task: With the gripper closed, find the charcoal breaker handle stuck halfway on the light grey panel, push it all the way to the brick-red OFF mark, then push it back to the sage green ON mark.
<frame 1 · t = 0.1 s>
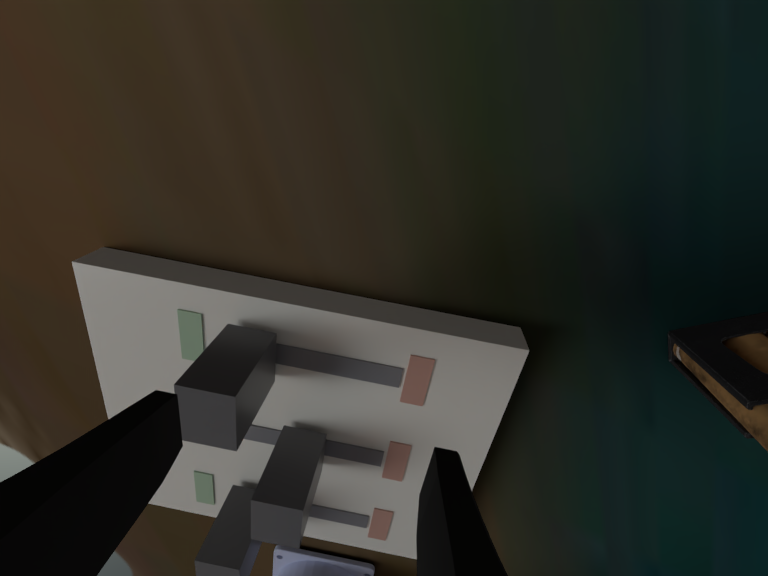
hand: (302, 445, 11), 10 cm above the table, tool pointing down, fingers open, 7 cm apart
breaker 2: (236, 538, 23), point 5 cm above the table, slide at 6.0 cm
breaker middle: (291, 483, 20), point 5 cm above the table, slide at 3.0 cm
breaker 1: (232, 382, 17), point 5 cm above the table, slide at 6.0 cm
breaker panel: (299, 413, 24), on the table
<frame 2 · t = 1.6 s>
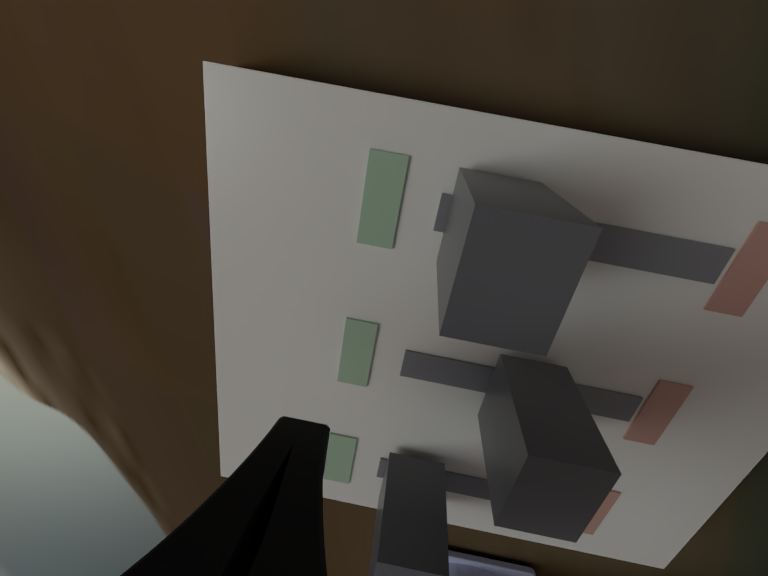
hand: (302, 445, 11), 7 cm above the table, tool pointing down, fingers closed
breaker 2: (407, 529, 15), point 5 cm above the table, slide at 6.0 cm
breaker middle: (534, 438, 12), point 5 cm above the table, slide at 3.0 cm
breaker 1: (497, 249, 10), point 5 cm above the table, slide at 6.0 cm
breaker panel: (485, 349, 17), on the table
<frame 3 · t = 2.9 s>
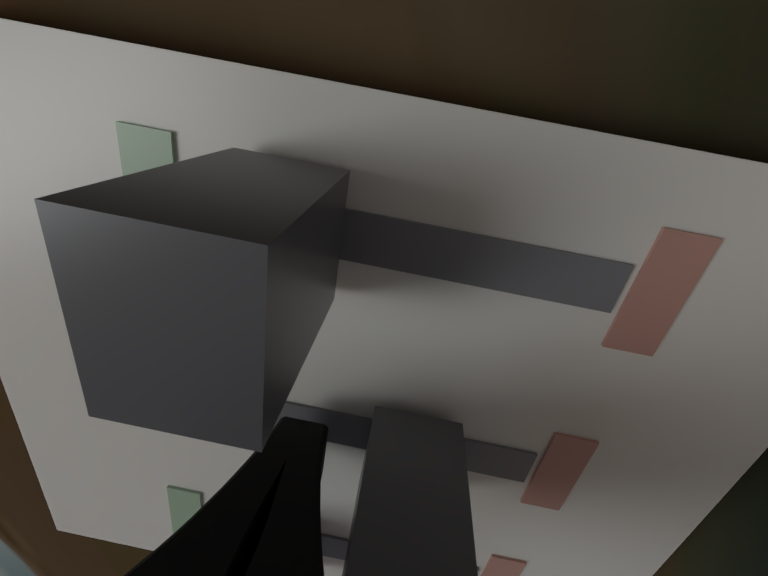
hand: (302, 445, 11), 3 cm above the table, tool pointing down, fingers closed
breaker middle: (403, 528, 9), point 5 cm above the table, slide at 2.1 cm, touching gripper
breaker 1: (244, 269, 6), point 5 cm above the table, slide at 6.0 cm
breaker panel: (358, 383, 13), on the table
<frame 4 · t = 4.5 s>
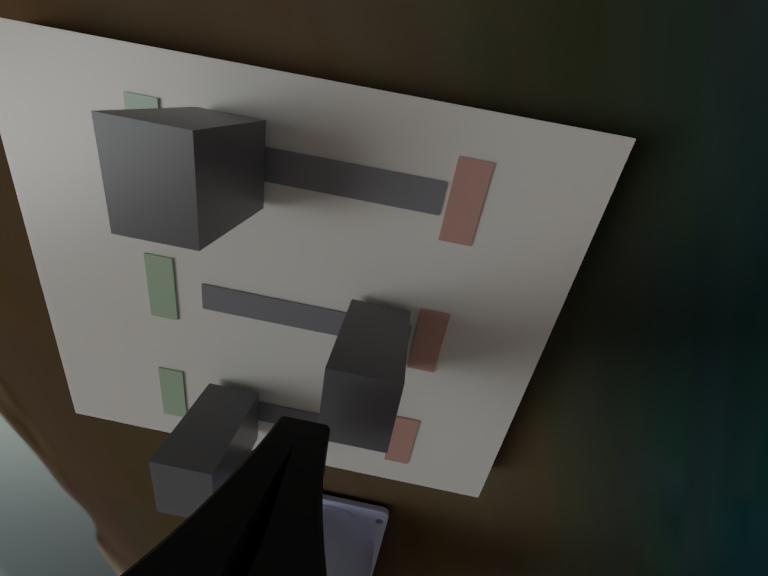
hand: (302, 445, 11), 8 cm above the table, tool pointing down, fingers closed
breaker 2: (211, 447, 17), point 5 cm above the table, slide at 6.0 cm
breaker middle: (367, 369, 14), point 5 cm above the table, slide at -0.1 cm
breaker 1: (197, 170, 11), point 5 cm above the table, slide at 6.0 cm
breaker panel: (297, 290, 18), on the table
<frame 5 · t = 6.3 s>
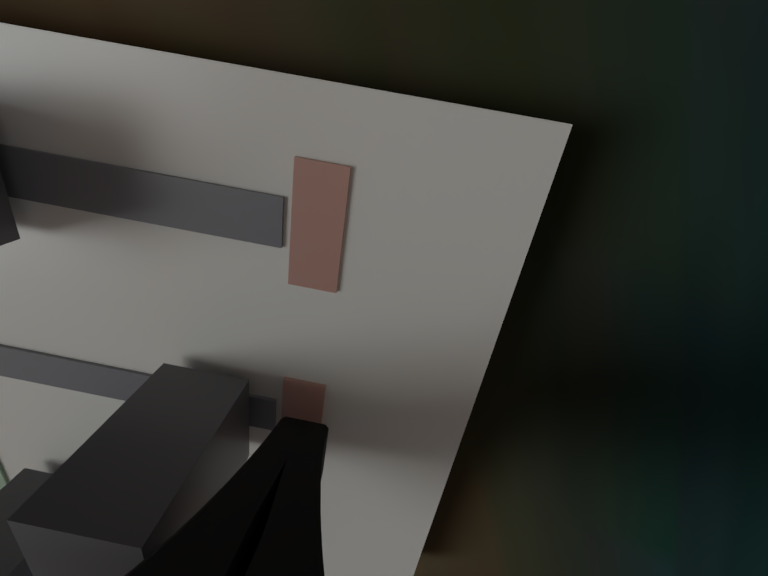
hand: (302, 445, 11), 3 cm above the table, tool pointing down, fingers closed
breaker 2: (8, 567, 12), point 5 cm above the table, slide at 6.0 cm
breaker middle: (162, 478, 9), point 5 cm above the table, slide at 0.4 cm, touching gripper
breaker panel: (142, 341, 13), on the table
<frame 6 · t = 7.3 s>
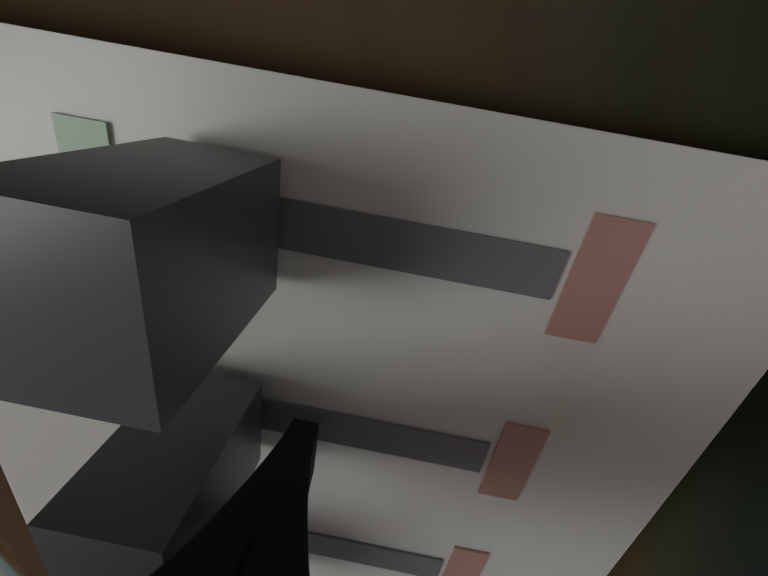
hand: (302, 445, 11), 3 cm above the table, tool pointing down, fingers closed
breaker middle: (176, 481, 9), point 5 cm above the table, slide at 6.3 cm, touching gripper
breaker 1: (163, 255, 7), point 5 cm above the table, slide at 6.0 cm
breaker panel: (319, 376, 13), on the table
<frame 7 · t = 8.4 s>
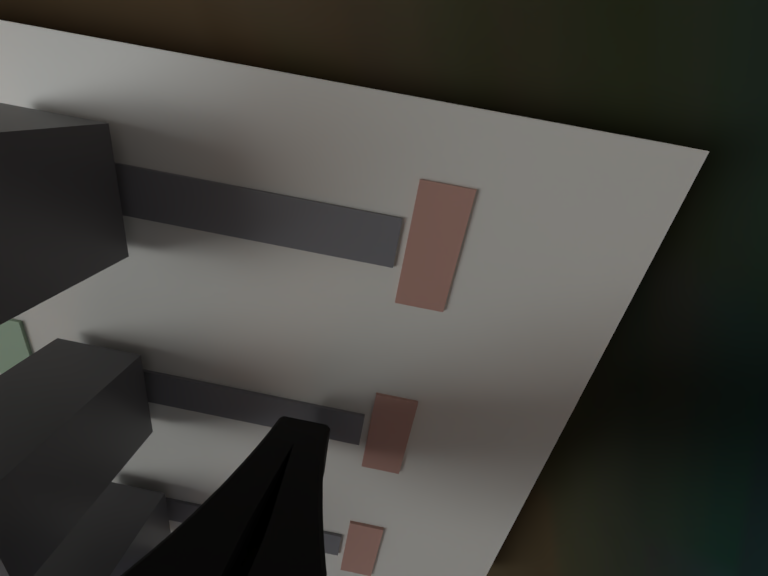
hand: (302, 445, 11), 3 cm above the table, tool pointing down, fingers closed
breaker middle: (40, 448, 9), point 5 cm above the table, slide at 6.1 cm
breaker panel: (216, 353, 13), on the table
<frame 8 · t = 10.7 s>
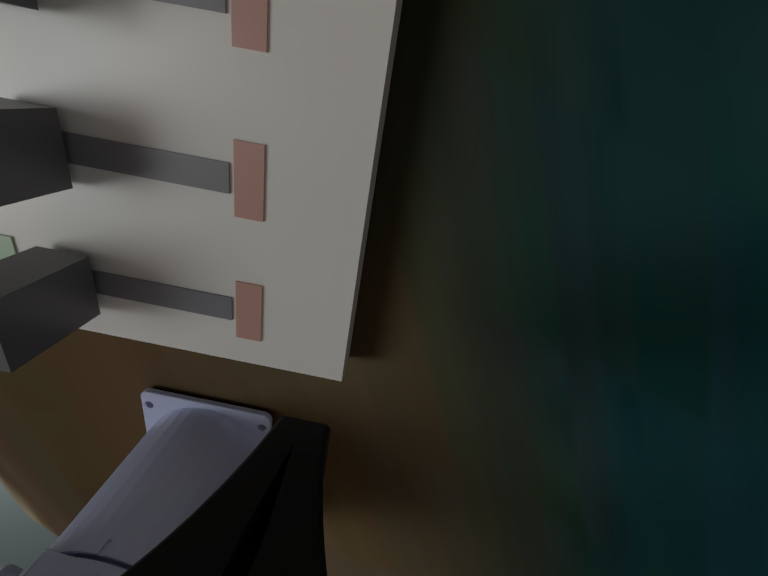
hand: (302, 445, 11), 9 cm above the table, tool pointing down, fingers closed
breaker 2: (24, 304, 16), point 5 cm above the table, slide at 6.0 cm
breaker panel: (130, 146, 17), on the table
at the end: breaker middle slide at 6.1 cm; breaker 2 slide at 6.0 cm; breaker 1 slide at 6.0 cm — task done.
